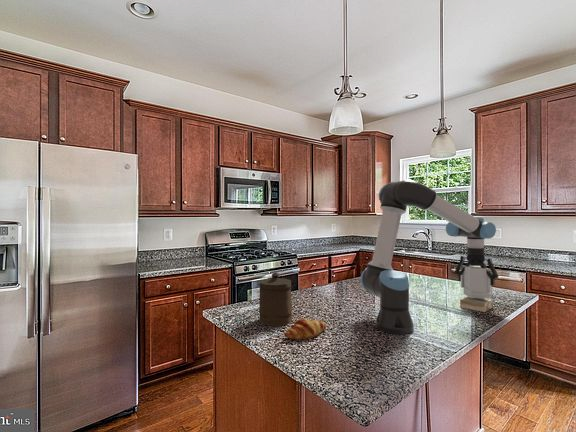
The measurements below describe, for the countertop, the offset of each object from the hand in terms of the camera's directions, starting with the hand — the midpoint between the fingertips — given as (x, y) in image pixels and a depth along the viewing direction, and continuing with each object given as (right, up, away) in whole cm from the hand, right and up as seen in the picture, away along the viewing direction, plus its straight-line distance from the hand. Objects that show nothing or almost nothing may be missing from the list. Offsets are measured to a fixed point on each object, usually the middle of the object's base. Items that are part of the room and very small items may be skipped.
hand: (475, 289), depth 159 cm
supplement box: (0, -4, 0) cm, 4 cm away
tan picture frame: (0, -9, 0) cm, 9 cm away
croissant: (-88, -11, -33) cm, 95 cm away
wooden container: (-101, -11, -16) cm, 103 cm away
